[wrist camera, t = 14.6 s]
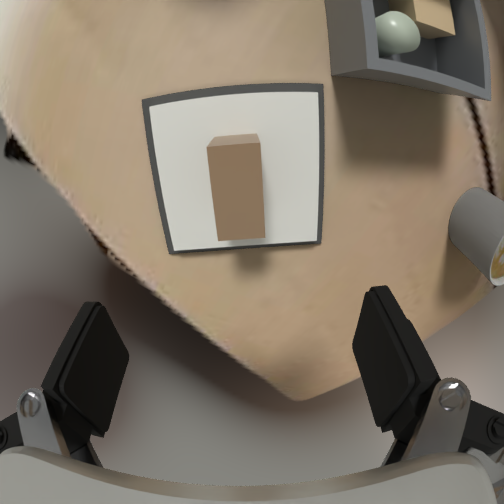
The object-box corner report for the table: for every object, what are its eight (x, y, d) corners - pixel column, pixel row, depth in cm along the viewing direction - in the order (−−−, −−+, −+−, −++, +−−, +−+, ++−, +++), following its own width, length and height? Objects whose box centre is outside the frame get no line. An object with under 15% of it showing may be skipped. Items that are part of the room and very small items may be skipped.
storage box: (428, -6, 16) (474, -20, 8) (439, 93, 23) (491, 101, 15) (319, -34, 16) (345, -71, 8) (331, 75, 23) (367, 68, 15)
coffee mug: (450, 257, 35) (486, 298, 26) (445, 201, 30) (492, 237, 22) (503, 224, 32) (540, 255, 23) (502, 171, 27) (547, 197, 19)
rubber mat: (322, 84, 24) (323, 84, 23) (320, 241, 33) (321, 243, 32) (142, 99, 24) (141, 99, 23) (169, 252, 33) (169, 254, 33)
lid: (314, 92, 24) (338, 91, 18) (314, 235, 32) (330, 271, 26) (152, 106, 24) (125, 109, 18) (176, 245, 32) (161, 282, 26)
